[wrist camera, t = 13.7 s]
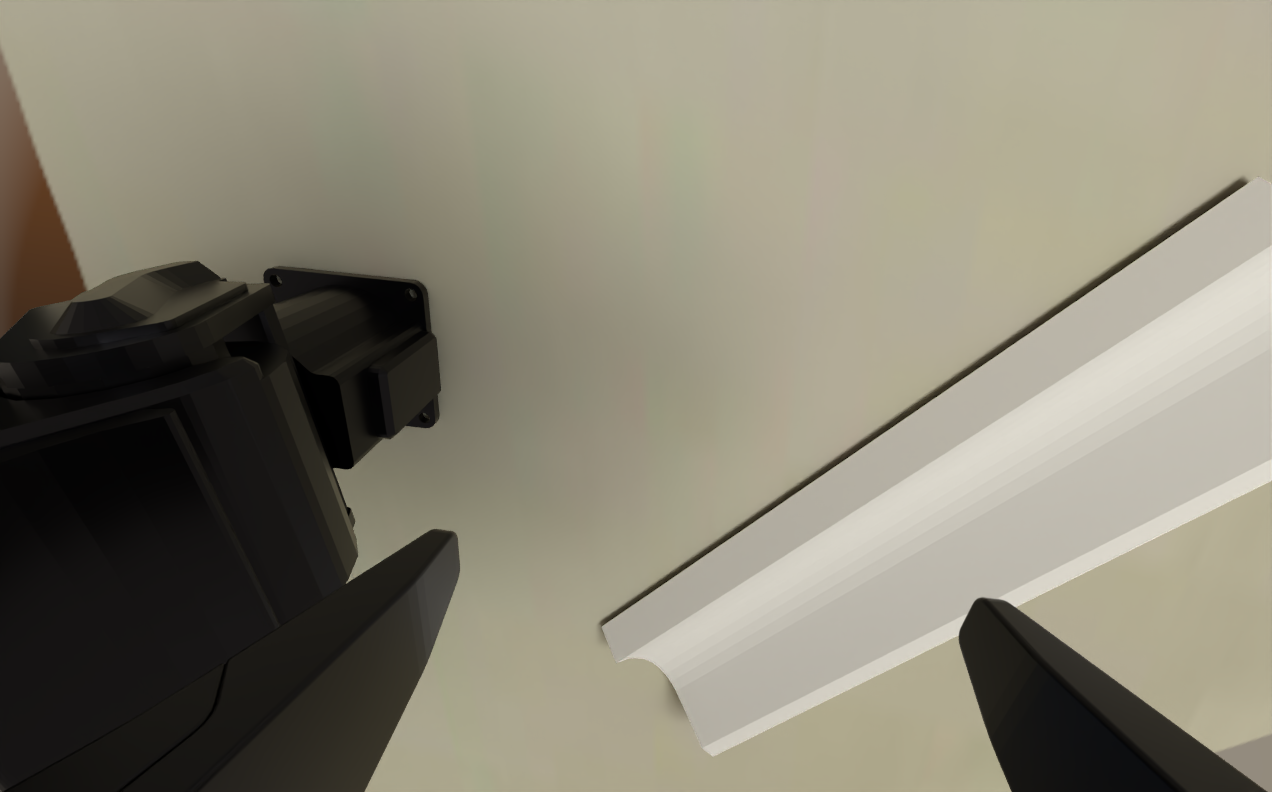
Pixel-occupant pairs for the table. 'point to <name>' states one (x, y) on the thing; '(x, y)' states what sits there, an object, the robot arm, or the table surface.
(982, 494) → the crown molding
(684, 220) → the table surface
